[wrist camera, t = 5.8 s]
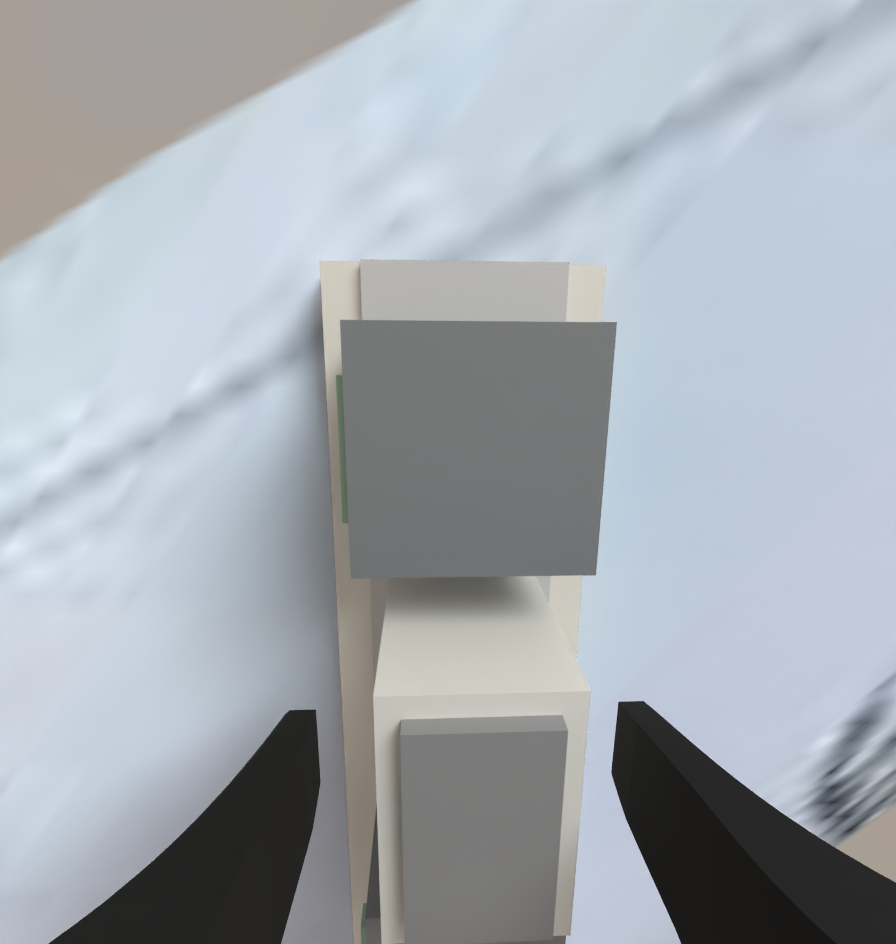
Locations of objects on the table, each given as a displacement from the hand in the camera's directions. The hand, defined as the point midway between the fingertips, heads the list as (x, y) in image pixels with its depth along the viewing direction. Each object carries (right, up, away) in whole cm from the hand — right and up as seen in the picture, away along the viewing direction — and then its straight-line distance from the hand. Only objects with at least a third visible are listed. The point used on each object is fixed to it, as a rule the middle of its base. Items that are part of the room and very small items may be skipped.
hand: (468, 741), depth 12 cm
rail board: (0, +1, +4) cm, 4 cm away
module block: (0, +1, +3) cm, 3 cm away
